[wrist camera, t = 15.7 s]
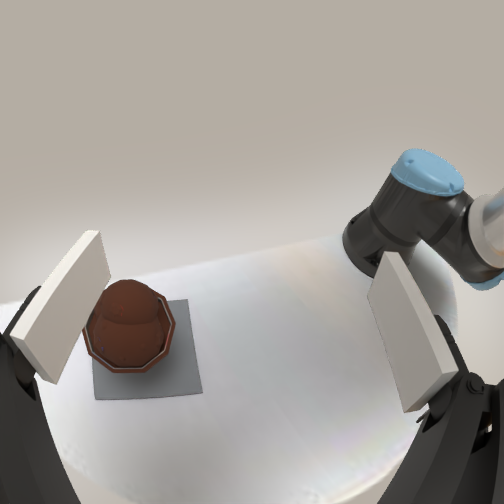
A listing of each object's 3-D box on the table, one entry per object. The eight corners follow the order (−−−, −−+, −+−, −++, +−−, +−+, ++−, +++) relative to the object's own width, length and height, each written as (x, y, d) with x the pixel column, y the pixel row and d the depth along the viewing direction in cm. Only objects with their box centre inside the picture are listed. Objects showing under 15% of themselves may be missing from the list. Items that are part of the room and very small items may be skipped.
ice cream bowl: (104, 315, 38) (69, 258, 26) (177, 312, 40) (170, 253, 28) (105, 386, 32) (58, 358, 20) (184, 384, 35) (176, 357, 23)
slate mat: (187, 300, 42) (187, 299, 42) (202, 392, 35) (202, 392, 34) (93, 308, 38) (91, 306, 38) (96, 399, 31) (94, 399, 30)
